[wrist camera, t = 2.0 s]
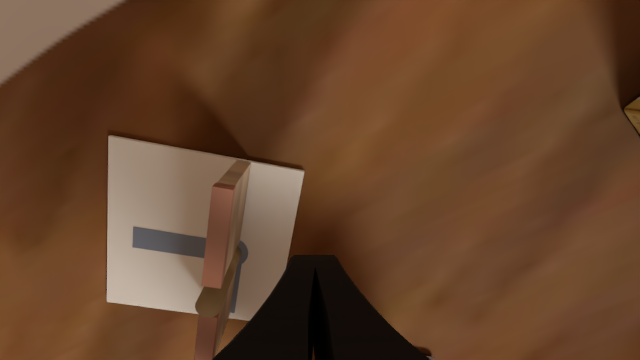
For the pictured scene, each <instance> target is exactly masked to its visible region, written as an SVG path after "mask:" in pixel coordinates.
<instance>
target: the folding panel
mask: <svg viewBox="0 0 640 360" xmlns="http://www.w3.org/2000/svg"><path fill="white" fill-rule="evenodd" d="M250 166H251V163H250V162H245V161H239V160H237V161H236V162H235V163H234V164H233V165H232V166H231V167H230V168H229V170H228V171H227V172H226V173H225V174H224V175H223V176H222V177H221V179H220V180H219V181H218V182H216V183H215V184H214V185H213V186H212V191H211V201H210V210H209V219H208V228H207V237H206V247H205V256H204V265H203V274H202V284H201V286H205V287H212V288H219V289H221V287H222V284H223V282H224V277H225V275H226V272H227V270H228V267H229V265H230V263H231V260H232V258H233V256H234V253H235V251H236V249H237V246H238V244H239V241H240V237H241V230H242V223H243V216H244V209H245V202H246V195H247V188H248V181H249V173H250Z"/></svg>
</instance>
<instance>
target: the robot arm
mask: <svg viewBox="0 0 640 360" xmlns="http://www.w3.org/2000/svg"><path fill="white" fill-rule="evenodd" d="M313 345H314V354H315V360H435V359H434V358H433V357H431V356H425V355H424V354H423V353H422V352H420V351H419V350H418V349H417V348H415V347H414V346H413V345H412V344H411V343H409V342H408V341H407V340H406V339H405V338H404V337H403V336H402V335H400V334H399V333H398V332H397V331H396V330H395V329H394V328H393V327H392V326H391V325H390V324H389V323H388V322H387V321H386V320H385V319H384V318H383V317H382V316H381V315H380V314H379V313H378V312H377V311H376V309H375V308H374V307H373V306H372V305H371V304H370V303H369V302H368V300H367V299H366V298H365V297H364V296H363V294H362V293H361V292H360V291H359V289H358V288H357V287H356V286H355V284H354V283H353V282H352V280H351V279H350V277H349V276H348V275H347V273H346V272H345V270H344V269H343V267H342V266H341V264H340V262H339V261H338V259H337V258H336V257H335V256H334V255H294V256H293V257H291V258H290V261H289V263H288V265H287V267H286V269H285V271H284V273H283V275H282V276H281V278H280V280H279V281H278V283H277V284H276V286H275V288H274V289H273V291H272V292H271V294H270V295H269V296H268V298H267V299H266V301H265V302H264V303H263V304H262V306H261V307H260V308H259V310H258V311H257V312H256V314H255V315H254V316H253V317H252V318H251V320H250V321H249V322H248V323H247V324H246V325H245V327H244V328H243V329H242V330H241V331H240V332H239V333H238V334H237V335H236V336H235V337H234V338H233V340H232V341H231V342H230V343H229V344H228V345H227V346H226V347H225V348H223V349H222V350H221V351H220V352H219V353H218V354H217V355H216V356H215V357H214V358H213V359H212V360H312V354H313Z"/></svg>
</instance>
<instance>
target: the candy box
mask: <svg viewBox="0 0 640 360" xmlns="http://www.w3.org/2000/svg"><path fill="white" fill-rule="evenodd" d="M624 112H625V114H626V115H627V117H628V118H629V120H630V121H631V122H632V124H633V125H634V127H635V128H636V129H637V131H638V132H639V134H640V97H639V98H637V99H636V100H634V101H633V102H632V103H630V104H629V105H628V106H626V107H625V108H624Z"/></svg>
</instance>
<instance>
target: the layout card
mask: <svg viewBox="0 0 640 360" xmlns="http://www.w3.org/2000/svg"><path fill="white" fill-rule="evenodd" d="M237 160H239V161H245V162H250V163H251V166H250V173H249V181H248V188H247V195H246V202H245V209H244V216H243V223H242V230H241V237H240V241H239V244H238V247H239V248H240V249H241V252H242V254H241V257H240V260H239V263H238V265H237V268H236V274H235V281H234V288H233V295H232V302H231V309H230V315H229V318H231V319H239V320H246V321H250V320H251V318H252V317H253V316H254V315H255V314H256V312H257V311H258V310H259V308H260V307H261V306H262V304H263V303H264V302H265V301H266V299H267V298H268V296H269V295H270V294H271V292H272V291H273V289H274V288H275V286H276V284H277V283H278V281H279V280H280V278H281V276H282V275H283V273H284V271H285V269H286V265H287V260H288V255H289V249H290V244H291V239H292V234H293V229H294V223H295V218H296V213H297V208H298V203H299V198H300V192H301V187H302V182H303V177H304V172H305V170H300V169H294V168H289V167H284V166H278V165H273V164H267V163H262V162H256V161H251V160H245V159H240V158H234V157H229V156H223V155H218V154H212V153H207V152H201V151H196V150H190V149H185V148H179V147H174V146H168V145H163V144H157V143H152V142H146V141H141V140H136V139H130V138H125V137H119V136H114V135H110V136H108V229H107V302H113V303H120V304H128V305H135V306H142V307H150V308H157V309H165V310H172V311H179V312H187V313H194V314H198V313H197V311H196V309H195V304H196V301H197V299H198V297H199V295H200V293H201V291H202V289H203V287H204V286H201V284H202V274H203V265H204V256H205V247H206V237H207V228H208V219H209V210H210V201H211V191H212V186H213V185H214V184H215V183H216V182H218V181H219V180H220V179H221V177H222V176H223V175H224V174H225V173H226V172H227V171H228V170H229V168H230V167H231V166H232V165H233V164H234V163H235V162H236V161H237Z"/></svg>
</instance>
